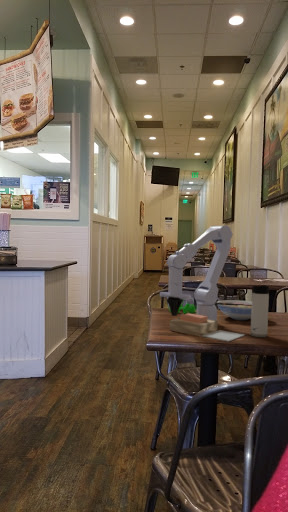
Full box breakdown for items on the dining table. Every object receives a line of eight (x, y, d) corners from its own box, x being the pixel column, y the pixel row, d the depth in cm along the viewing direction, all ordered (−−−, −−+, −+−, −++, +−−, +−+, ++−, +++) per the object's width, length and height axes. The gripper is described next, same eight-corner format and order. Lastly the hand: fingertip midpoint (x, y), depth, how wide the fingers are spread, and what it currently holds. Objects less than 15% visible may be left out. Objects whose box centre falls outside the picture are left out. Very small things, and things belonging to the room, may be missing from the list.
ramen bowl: (262, 316, 202) (262, 299, 202) (272, 325, 179) (272, 306, 179) (211, 313, 204) (212, 297, 204) (215, 322, 182) (216, 304, 181)
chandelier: (202, 312, 208) (202, 299, 208) (187, 316, 196) (188, 302, 196) (177, 308, 217) (177, 296, 217) (162, 312, 205) (162, 298, 205)
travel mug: (253, 337, 153) (256, 285, 153) (248, 333, 160) (250, 283, 159) (269, 337, 154) (272, 285, 153) (263, 333, 160) (265, 284, 160)
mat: (219, 331, 163) (219, 330, 163) (244, 335, 156) (244, 334, 156) (202, 336, 152) (202, 335, 152) (228, 341, 145) (228, 340, 145)
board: (188, 325, 172) (188, 316, 172) (217, 330, 164) (217, 320, 164) (169, 330, 161) (169, 320, 161) (199, 336, 153) (200, 325, 153)
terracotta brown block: (188, 318, 168) (188, 313, 168) (207, 321, 162) (207, 316, 162) (180, 319, 163) (180, 315, 163) (199, 323, 157) (199, 318, 157)
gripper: (155, 282, 169) (154, 314, 170) (184, 285, 160) (183, 319, 161) (165, 281, 175) (164, 312, 175) (194, 284, 166) (192, 317, 166)
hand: (174, 315), depth 168 cm, fingers closed
